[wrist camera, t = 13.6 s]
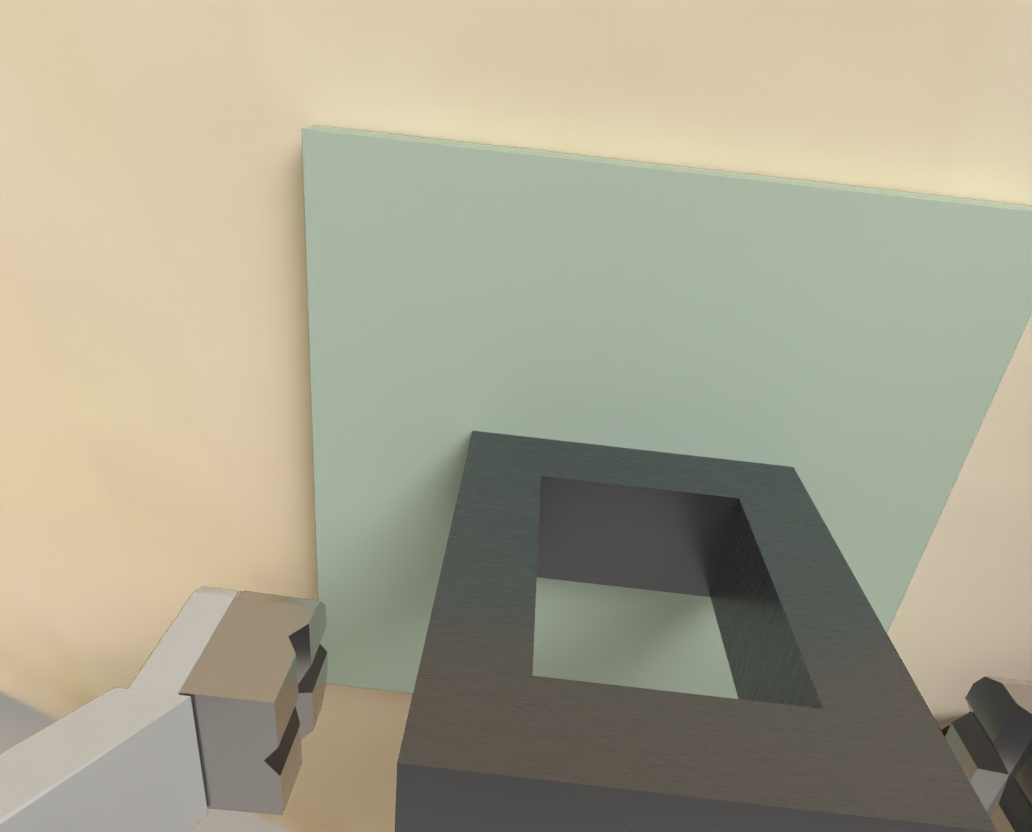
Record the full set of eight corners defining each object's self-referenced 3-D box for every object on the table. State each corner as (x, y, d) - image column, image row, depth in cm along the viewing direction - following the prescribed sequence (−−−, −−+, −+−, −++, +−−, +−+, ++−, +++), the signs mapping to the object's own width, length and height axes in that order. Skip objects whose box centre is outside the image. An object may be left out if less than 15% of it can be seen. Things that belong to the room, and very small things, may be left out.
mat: (328, 661, 16) (321, 683, 15) (314, 125, 11) (301, 129, 10) (828, 718, 16) (837, 742, 15) (1050, 208, 11) (1075, 216, 10)
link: (464, 525, 13) (392, 890, 7) (472, 430, 12) (397, 762, 7) (763, 560, 13) (918, 950, 7) (793, 467, 12) (998, 831, 7)
